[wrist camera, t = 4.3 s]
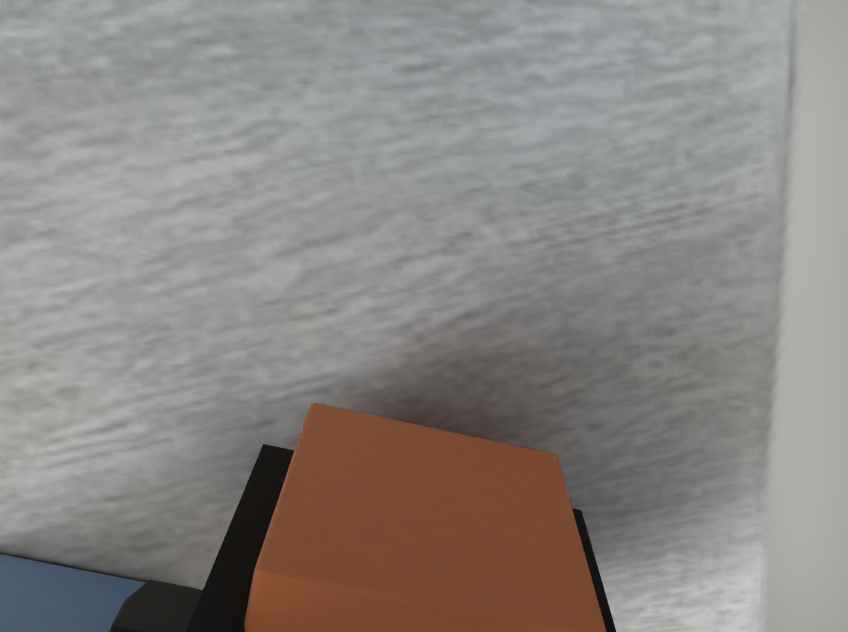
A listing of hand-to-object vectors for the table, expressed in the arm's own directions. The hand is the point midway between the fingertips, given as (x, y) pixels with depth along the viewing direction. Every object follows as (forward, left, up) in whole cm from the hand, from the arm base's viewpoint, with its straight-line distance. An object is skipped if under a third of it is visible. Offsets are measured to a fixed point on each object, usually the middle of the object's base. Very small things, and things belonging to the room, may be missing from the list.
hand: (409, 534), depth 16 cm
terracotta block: (0, 0, 0) cm, 0 cm away
